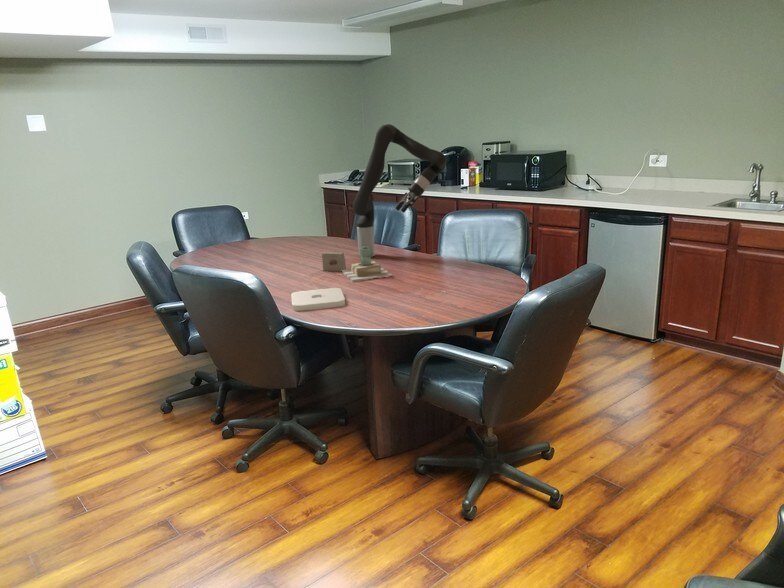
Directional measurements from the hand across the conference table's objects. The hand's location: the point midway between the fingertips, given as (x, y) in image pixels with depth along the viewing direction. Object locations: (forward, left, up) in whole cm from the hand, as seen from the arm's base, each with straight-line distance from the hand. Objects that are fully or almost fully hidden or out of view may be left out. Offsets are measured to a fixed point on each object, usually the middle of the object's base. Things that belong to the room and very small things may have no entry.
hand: (399, 210), depth 298 cm
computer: (+44, -54, -29) cm, 76 cm away
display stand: (+10, -23, -29) cm, 38 cm away
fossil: (-7, -35, -29) cm, 46 cm away
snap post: (+10, -23, -23) cm, 34 cm away
